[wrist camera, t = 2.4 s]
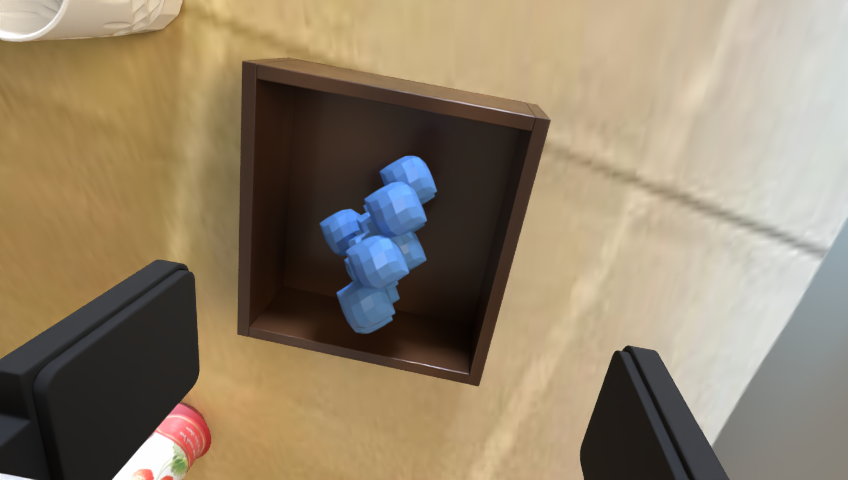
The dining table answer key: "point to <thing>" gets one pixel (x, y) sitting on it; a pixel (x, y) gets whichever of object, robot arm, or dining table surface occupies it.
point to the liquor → (170, 447)
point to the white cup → (82, 18)
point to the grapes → (381, 242)
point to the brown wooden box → (346, 189)
